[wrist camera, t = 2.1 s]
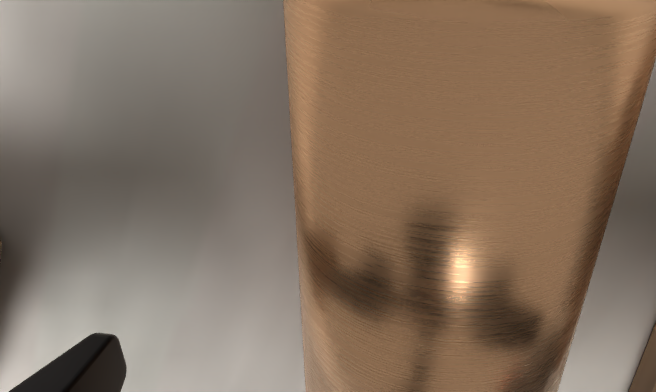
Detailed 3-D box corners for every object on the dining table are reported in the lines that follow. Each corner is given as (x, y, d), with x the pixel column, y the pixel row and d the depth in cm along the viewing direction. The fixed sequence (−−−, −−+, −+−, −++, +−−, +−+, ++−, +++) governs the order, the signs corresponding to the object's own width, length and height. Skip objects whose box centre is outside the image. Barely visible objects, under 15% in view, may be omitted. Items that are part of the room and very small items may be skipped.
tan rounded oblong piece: (466, 350, 18) (574, 526, 14) (289, 390, 17) (343, 598, 12) (532, -70, 12) (783, -2, 7) (254, -51, 10) (339, 44, 6)
